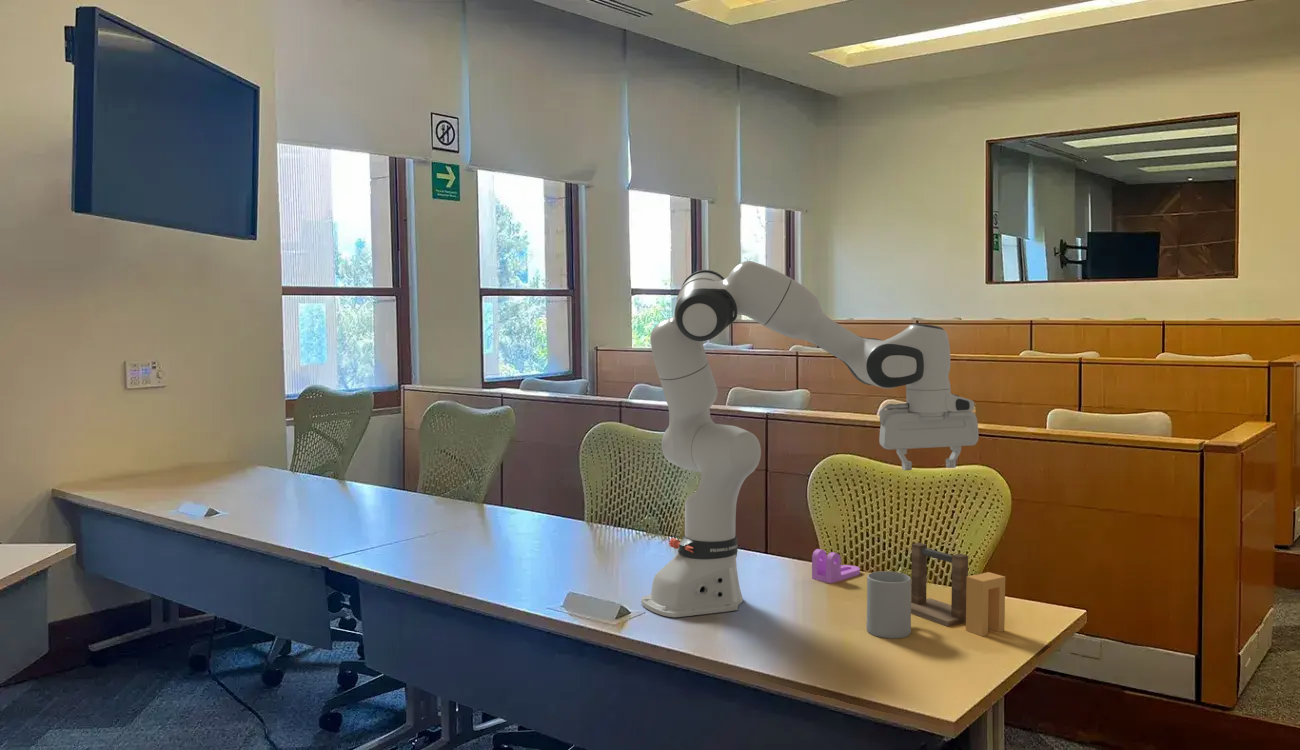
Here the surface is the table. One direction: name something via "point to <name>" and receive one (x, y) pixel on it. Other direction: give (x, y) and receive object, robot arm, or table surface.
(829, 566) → the bracket
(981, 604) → the tan arch block
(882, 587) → the mug
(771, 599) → the table surface
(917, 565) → the stand with crossbar
